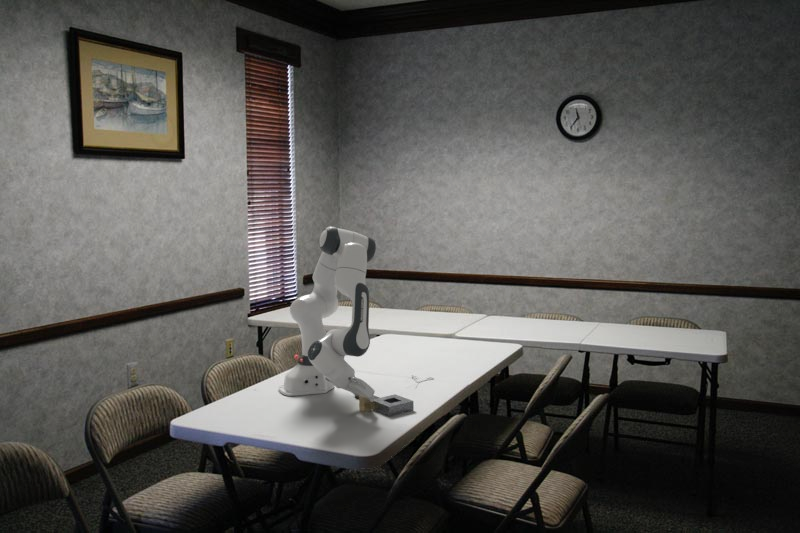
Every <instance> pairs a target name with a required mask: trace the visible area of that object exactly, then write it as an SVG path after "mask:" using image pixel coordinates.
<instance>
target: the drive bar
mask: <svg viewBox="0 0 800 533" xmlns="http://www.w3.org/2000/svg"><path fill="white" fill-rule="evenodd" d="M358 402H359V403H358V404H359V407H358V408H359V411H361V412H362V413H367V412H371V410H372V405H371V401H369V400H368V399H367V398H365V397H362V396H360V395H359V398H358ZM372 411H373V410H372Z"/></svg>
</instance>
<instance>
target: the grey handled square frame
mask: <svg viewBox="0 0 800 533" xmlns="http://www.w3.org/2000/svg"><path fill="white" fill-rule="evenodd" d="M373 397H374V398H375V400H374V401H373V402H371V405H372V411H375V412H377V413H380V414H381V415H385V416H387V417H393V416H397V415H400V414H405V413H409V412H411V411H414V400H411V399H409V398H406V397H403V396H400V395H398V394H391V395H387V396H386V395H385V396H382V397H379V396H376V395H374V394H373ZM354 398H356V399H359V396H355V395H354Z"/></svg>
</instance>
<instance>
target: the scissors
mask: <svg viewBox="0 0 800 533" xmlns="http://www.w3.org/2000/svg"><path fill="white" fill-rule="evenodd" d="M416 377H417V378H418V379H419V377H418V376H415V375H413V374H412V375H411V376H410V379H411V378H412V379H411V380H414V381H415V380H416V381H415V383H419V384H420V383H422V382H426V381H432V380H435V377H432V376H431V377H426V378H425V379H422V380H418V379H417V378H416ZM419 384H417V385H418V386H419ZM418 386H416V387H415V386H414V389H417V387H418Z"/></svg>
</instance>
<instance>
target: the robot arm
mask: <svg viewBox="0 0 800 533" xmlns="http://www.w3.org/2000/svg"><path fill="white" fill-rule="evenodd" d="M319 248H320V250H321V254H320V256H319V258H318V261H317V263H316V265H315V268H314V271H313V274H312V277H311V278H312V280H313V285H314V286H313V289H312V292H311V293H310V294H309V293H307V294H305V295H301V296H299V297H297V298H296V299H295V300H293V301H292V302H291V304H290V309H289V313H290V316H291V318H292V319H293V320H294V321H295V322H296V323H297V325H298V328H299V331H300V335H301V348H302V350H301V351H302V352H301V354H300V355H299V354H295V355H293V357H294V359H295V360H296V361H297V364H296V365H295V366H293V368H291V369H290V370H289V371H288V372H287V373H286V374H285V376H284V382H283V385H279V386H278V392H279V393H280V394H282V395H284V396H289V397H294V396H295V397H296V396H305V395H317V394H327V392H329V391H330V390H333V389H334V388H337V389H342V390H345V391H347V392H350V393H352V394H353V395H354V397H355V396H359V395H360V396H362V397H365V398H367V399H368V400H369V401H371V402H373V401H374V400H375V398H374V397H373V395H374V394H375V393H376V391H375V389H374V388H373V387H372V386H371V385H370V384H368V383H367V382H365V380H363V379H361V378H358V377H355V373H356V372H355V369H354V368H353V367H352V366H351V365H350V364H349V363H348V362H347V361H346V360H345V358H346V356H349V357H355V358H356V357H362V356H363V355H365V353H367V351H368V350H369V347H370V346H371V345H370V344H371V339H370V338H371V337H370V331H369V330H370V328H369V325H370V324H369V318H370V316H369V315H370V291H369V288H368V286H367V285H366V276H367V269H368V263H369V262H371V261H372V260H373V259H374V257H375V253H376V250H377V244H376V241H375V240H374V239H373V238H372V237H370V236H367V235H364V234H361V233H359V232H356V231H353V230H347V229H344V228H343V229H342V228H337V227H336V226H327V227H325V228H324V229H323V230H322V232H321V234H320V237H319ZM338 292H339V293H340V294H341V295H343V296H345V297H347V298H348V299H350V301H351V303H352V307H351V310H352V312H351V324H350V326H349V327H344V328H343V327H339V328H338V327H337V328H331V329H329V330H326V329H325V327H324V323H323V319H326V318H329V317H330V316H332V315H333V314H335V313H336V312H337V310H338V308H339V299H338Z"/></svg>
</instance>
